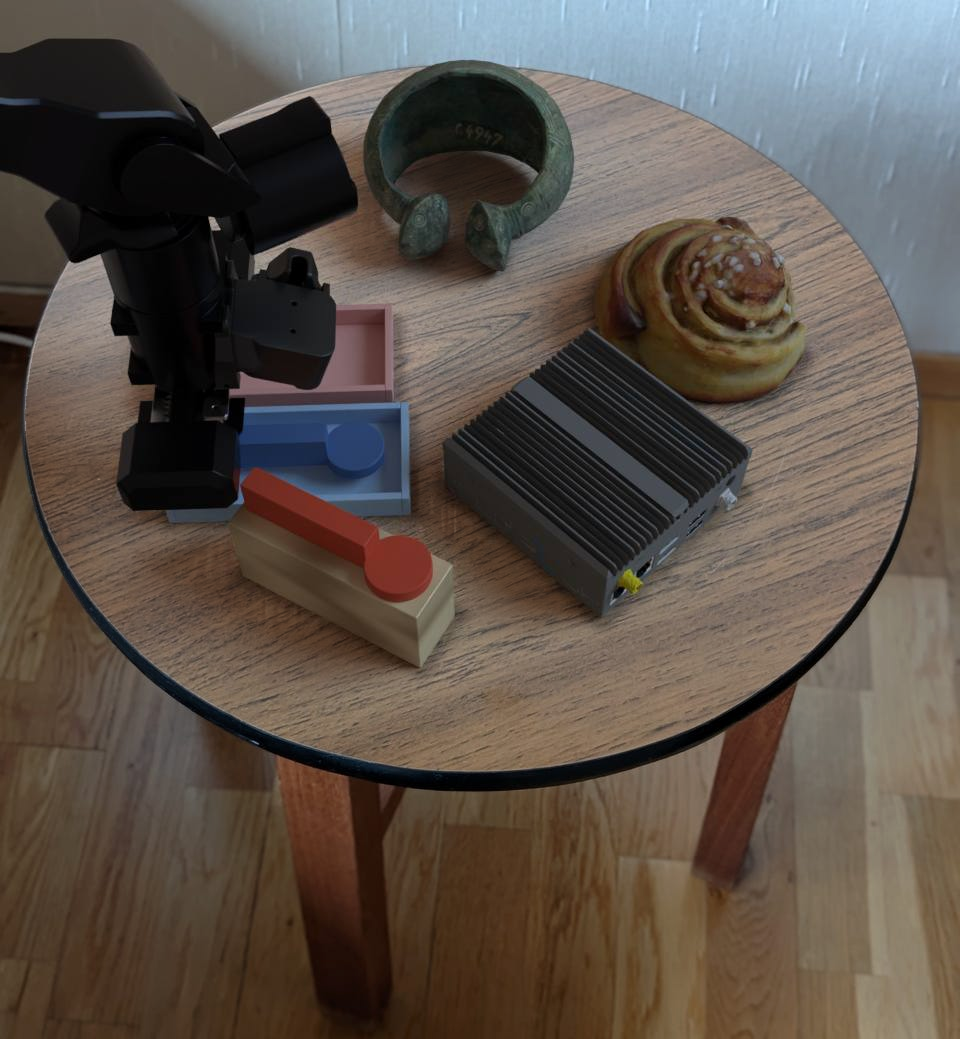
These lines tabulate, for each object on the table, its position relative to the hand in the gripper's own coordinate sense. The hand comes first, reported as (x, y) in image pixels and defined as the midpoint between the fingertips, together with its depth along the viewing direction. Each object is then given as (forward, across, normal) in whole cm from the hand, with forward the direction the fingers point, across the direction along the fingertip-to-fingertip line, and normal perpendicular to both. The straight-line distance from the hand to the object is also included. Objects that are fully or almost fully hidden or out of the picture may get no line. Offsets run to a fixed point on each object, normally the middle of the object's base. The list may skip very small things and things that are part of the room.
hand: (214, 450), depth 83 cm
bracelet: (+3, +23, -16) cm, 28 cm away
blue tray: (+2, 0, -5) cm, 5 cm away
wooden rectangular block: (+2, -9, -8) cm, 13 cm away
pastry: (+3, +12, -32) cm, 34 cm away
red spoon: (-4, -9, -8) cm, 13 cm away
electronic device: (+3, -2, -24) cm, 24 cm away
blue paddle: (+1, 0, -5) cm, 5 cm away
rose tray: (+2, +8, -4) cm, 10 cm away
